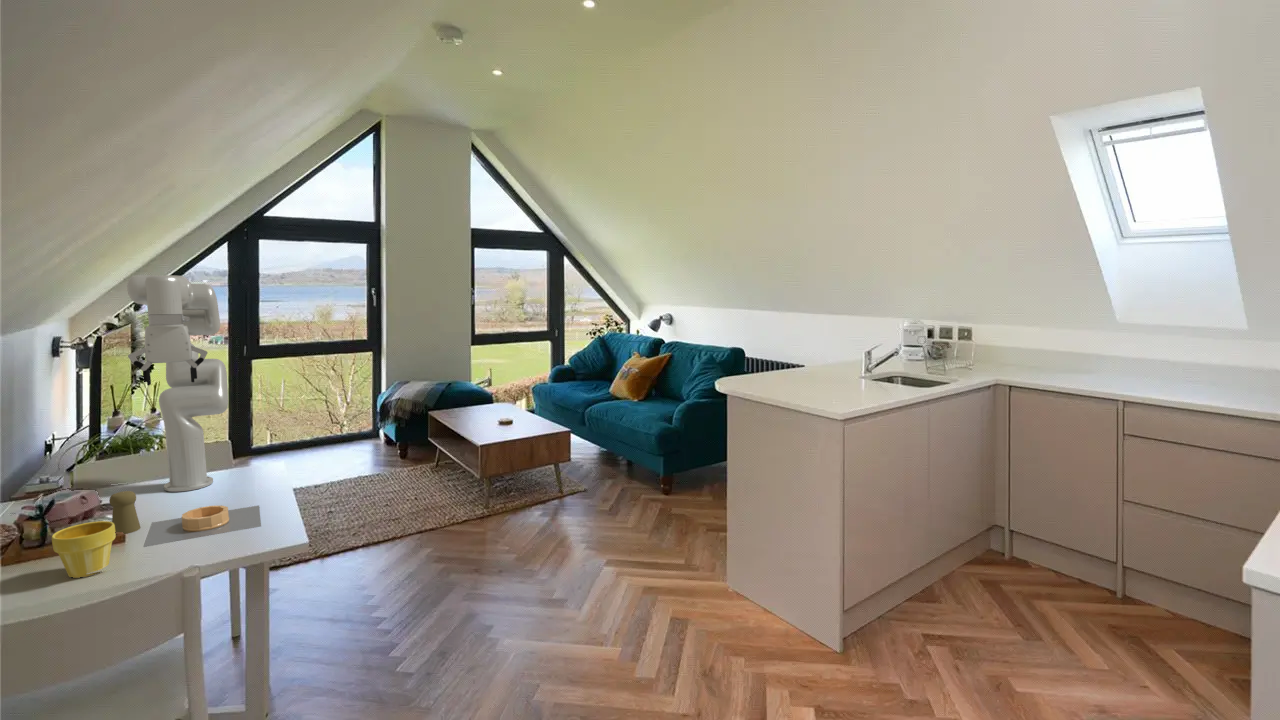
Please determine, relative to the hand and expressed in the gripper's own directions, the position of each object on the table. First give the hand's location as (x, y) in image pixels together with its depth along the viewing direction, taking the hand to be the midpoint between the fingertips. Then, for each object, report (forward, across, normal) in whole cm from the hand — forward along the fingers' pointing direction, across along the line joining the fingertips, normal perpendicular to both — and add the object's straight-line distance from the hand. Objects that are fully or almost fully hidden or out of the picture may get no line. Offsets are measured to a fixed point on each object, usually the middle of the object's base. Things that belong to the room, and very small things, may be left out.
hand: (171, 383), depth 169 cm
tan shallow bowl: (+36, -5, +19) cm, 41 cm away
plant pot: (+37, +17, +34) cm, 53 cm away
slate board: (+36, -5, +19) cm, 42 cm away
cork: (+37, +11, +12) cm, 40 cm away
